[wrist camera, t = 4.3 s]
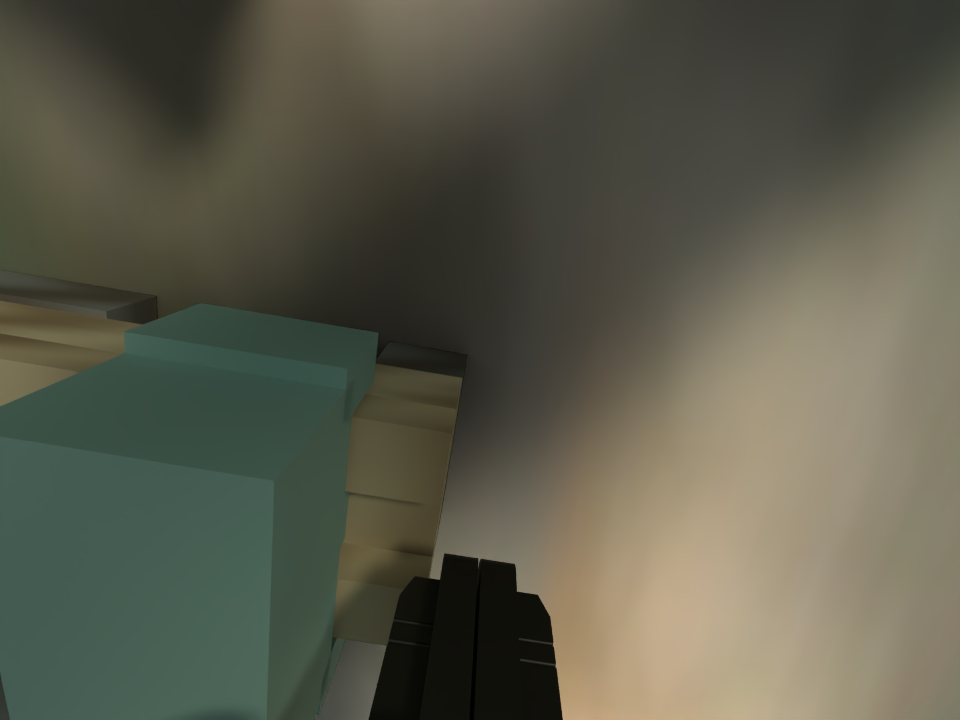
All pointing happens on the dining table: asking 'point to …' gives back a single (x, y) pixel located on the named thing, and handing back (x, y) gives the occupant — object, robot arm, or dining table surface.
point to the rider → (181, 522)
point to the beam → (372, 447)
